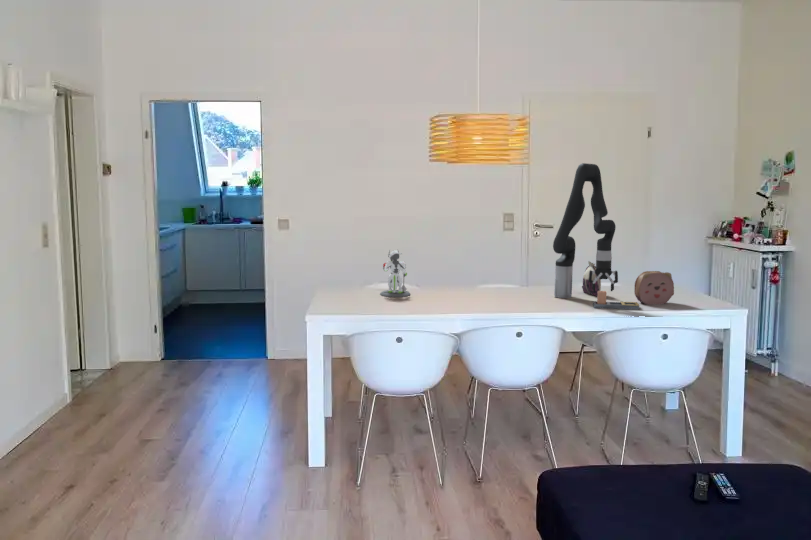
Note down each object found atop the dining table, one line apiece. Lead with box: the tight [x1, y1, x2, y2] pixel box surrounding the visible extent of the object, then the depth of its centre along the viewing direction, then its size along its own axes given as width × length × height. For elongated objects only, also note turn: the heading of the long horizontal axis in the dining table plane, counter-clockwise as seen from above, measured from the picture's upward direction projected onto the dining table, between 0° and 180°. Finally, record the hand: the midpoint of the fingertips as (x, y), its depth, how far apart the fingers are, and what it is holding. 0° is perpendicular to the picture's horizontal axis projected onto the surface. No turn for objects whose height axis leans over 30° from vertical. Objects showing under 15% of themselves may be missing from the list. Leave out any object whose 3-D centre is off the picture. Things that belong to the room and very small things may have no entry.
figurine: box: [379, 249, 411, 298], centre depth 404 cm, size 17×17×25 cm
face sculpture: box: [634, 270, 675, 305], centre depth 383 cm, size 20×7×17 cm, turn 101°
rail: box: [592, 300, 640, 310], centre depth 371 cm, size 22×8×2 cm, turn 81°
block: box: [596, 290, 608, 304], centre depth 372 cm, size 4×4×8 cm
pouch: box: [581, 260, 602, 297], centre depth 407 cm, size 25×8×19 cm, turn 15°
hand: (602, 290), depth 371 cm, fingers open, 8 cm apart
